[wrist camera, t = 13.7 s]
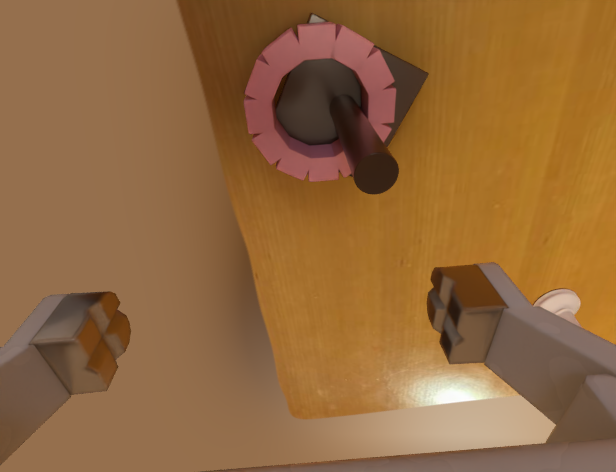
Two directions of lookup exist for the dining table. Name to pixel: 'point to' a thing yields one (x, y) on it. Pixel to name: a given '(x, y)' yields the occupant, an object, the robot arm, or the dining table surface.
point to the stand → (346, 114)
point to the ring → (284, 58)
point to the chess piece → (561, 304)
